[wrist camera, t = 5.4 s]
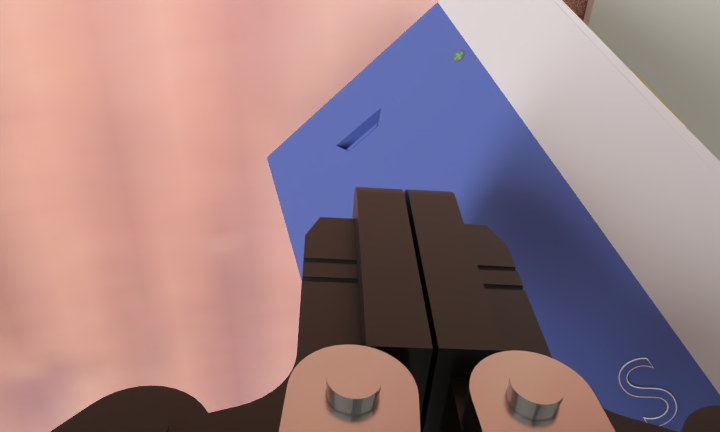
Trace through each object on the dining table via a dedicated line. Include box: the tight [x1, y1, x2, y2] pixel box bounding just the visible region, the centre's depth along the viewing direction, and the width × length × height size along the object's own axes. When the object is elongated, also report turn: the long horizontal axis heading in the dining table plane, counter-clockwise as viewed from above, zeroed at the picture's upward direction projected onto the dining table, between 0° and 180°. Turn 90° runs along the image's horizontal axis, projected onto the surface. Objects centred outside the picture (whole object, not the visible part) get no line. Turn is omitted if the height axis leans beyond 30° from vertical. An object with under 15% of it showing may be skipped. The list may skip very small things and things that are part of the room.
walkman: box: [267, 0, 720, 432], centre depth 13 cm, size 8×3×12 cm, turn 133°
